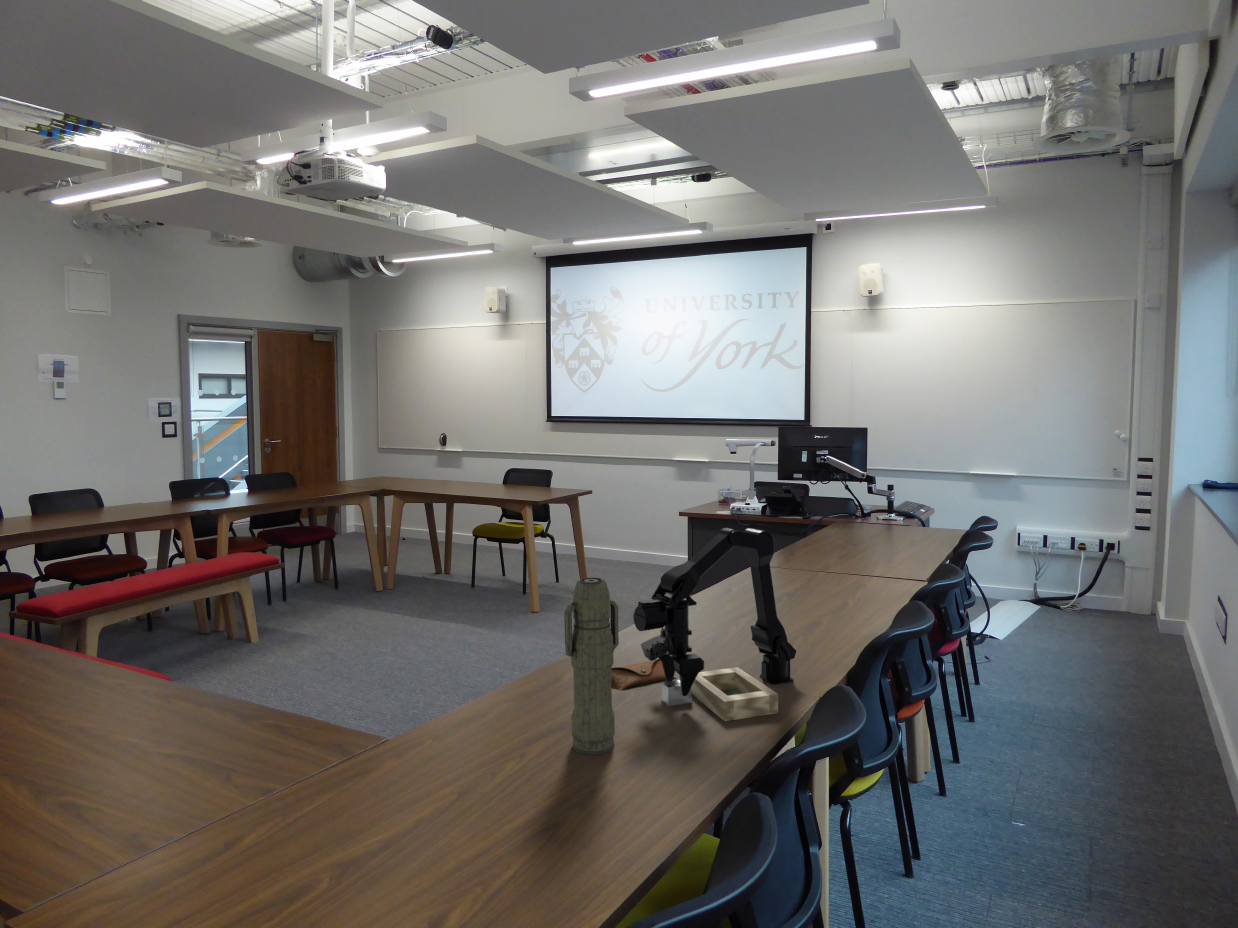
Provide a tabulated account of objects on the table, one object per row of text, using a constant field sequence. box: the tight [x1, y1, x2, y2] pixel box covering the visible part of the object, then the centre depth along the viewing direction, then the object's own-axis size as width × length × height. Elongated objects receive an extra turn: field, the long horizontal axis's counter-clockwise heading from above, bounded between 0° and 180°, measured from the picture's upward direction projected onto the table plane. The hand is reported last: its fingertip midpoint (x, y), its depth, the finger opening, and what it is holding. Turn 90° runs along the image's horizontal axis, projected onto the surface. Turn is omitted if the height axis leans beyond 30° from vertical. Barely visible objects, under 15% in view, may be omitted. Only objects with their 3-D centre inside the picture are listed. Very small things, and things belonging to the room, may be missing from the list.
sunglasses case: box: [611, 658, 677, 692], centre depth 206 cm, size 18×7×7 cm
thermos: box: [563, 577, 620, 756], centre depth 165 cm, size 9×12×35 cm
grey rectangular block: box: [661, 679, 693, 707], centre depth 190 cm, size 6×4×4 cm, turn 109°
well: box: [692, 666, 779, 722], centre depth 189 cm, size 14×20×4 cm
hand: (676, 689), depth 190 cm, fingers open, 9 cm apart
